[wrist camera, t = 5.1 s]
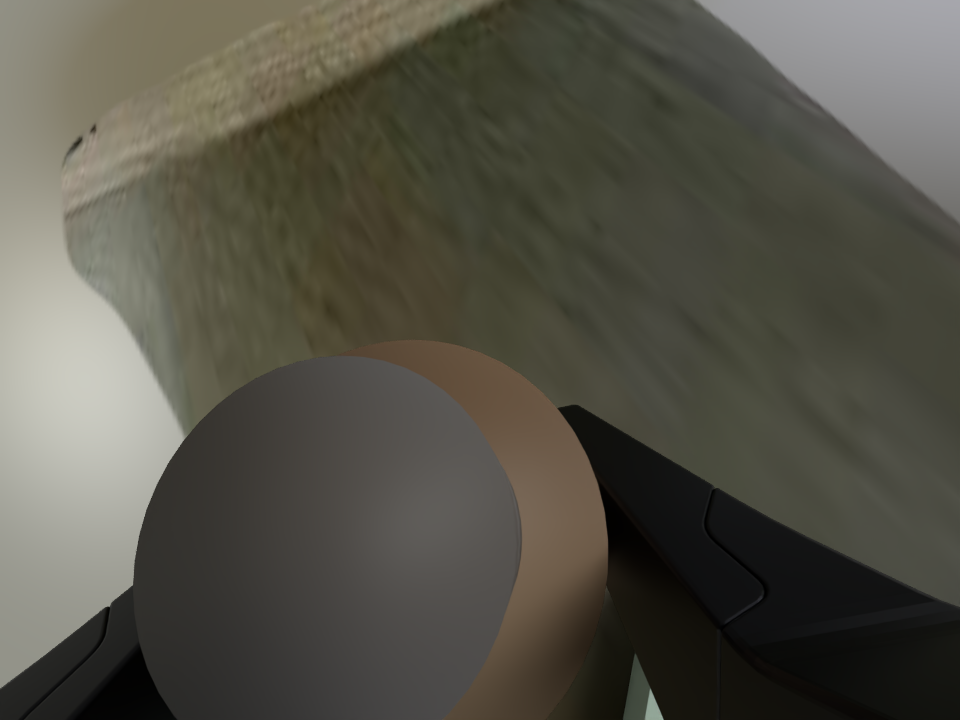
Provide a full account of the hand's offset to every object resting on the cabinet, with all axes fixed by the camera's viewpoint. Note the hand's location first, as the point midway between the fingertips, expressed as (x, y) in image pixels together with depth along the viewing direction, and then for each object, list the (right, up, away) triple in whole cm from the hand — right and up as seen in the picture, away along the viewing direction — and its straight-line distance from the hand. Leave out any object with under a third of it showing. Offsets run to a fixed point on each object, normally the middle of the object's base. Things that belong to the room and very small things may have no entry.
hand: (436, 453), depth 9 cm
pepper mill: (+1, -3, +6) cm, 7 cm away
